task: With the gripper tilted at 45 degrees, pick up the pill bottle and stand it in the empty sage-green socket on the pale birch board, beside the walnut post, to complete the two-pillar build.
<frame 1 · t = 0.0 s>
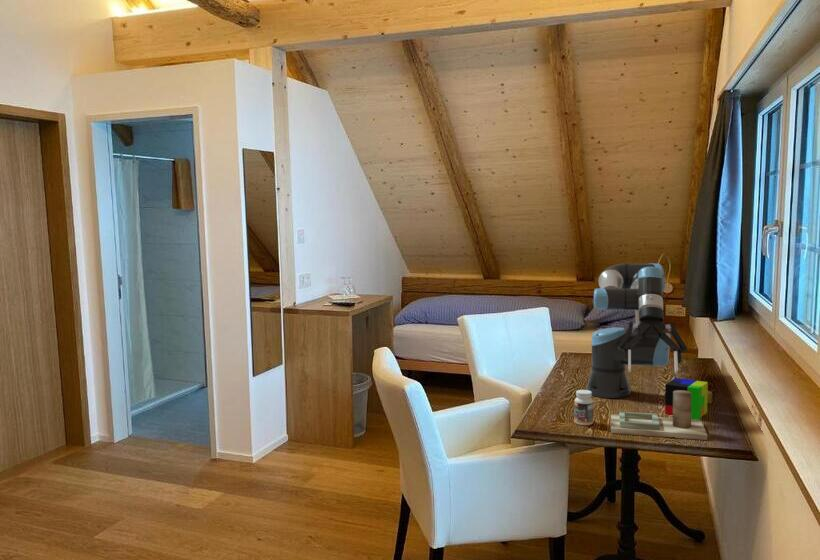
hand: (652, 371, 199), 15 cm above the table, tool tilted 35°, fingers open, 13 cm apart
puzzle toy: (686, 414, 206), on the table
medication box: (699, 399, 222), on the table
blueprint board: (656, 428, 191), on the table
pill bottle: (583, 423, 199), on the table
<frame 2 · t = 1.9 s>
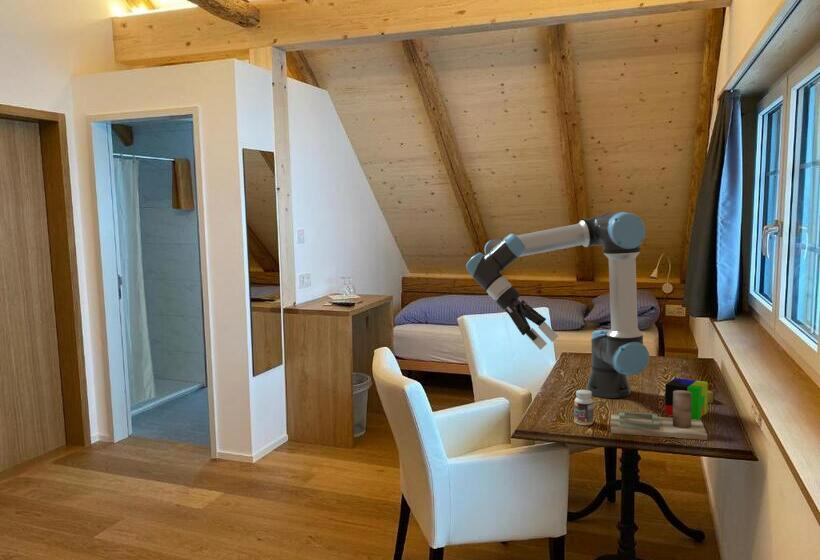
hand: (549, 343, 201), 24 cm above the table, tool tilted 45°, fingers open, 13 cm apart
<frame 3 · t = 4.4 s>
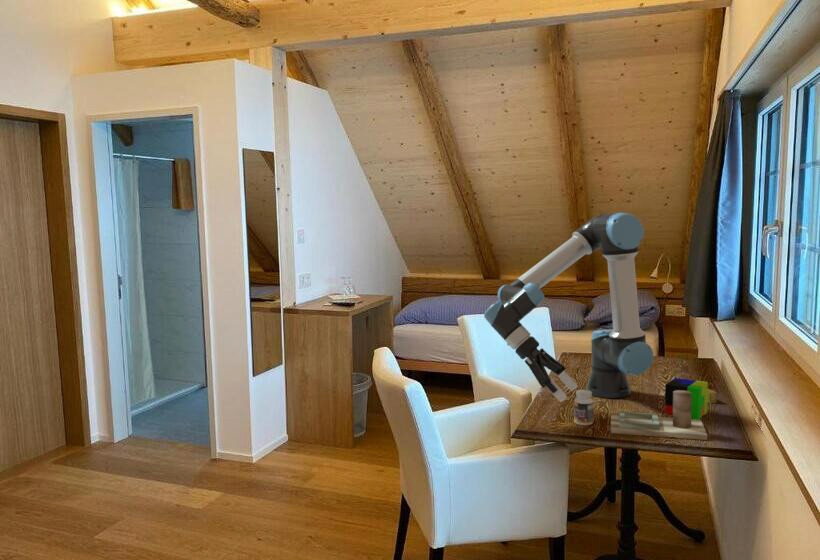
hand: (569, 394, 199), 9 cm above the table, tool tilted 45°, fingers open, 13 cm apart
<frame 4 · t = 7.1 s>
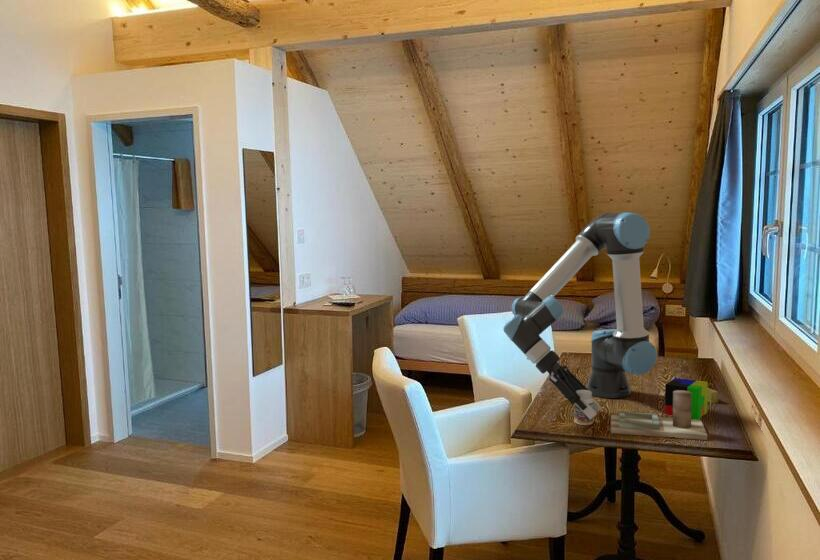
hand: (595, 413, 197), 3 cm above the table, tool tilted 45°, fingers closed on pill bottle, 6 cm apart
pill bottle: (583, 423, 199), on the table, touching gripper
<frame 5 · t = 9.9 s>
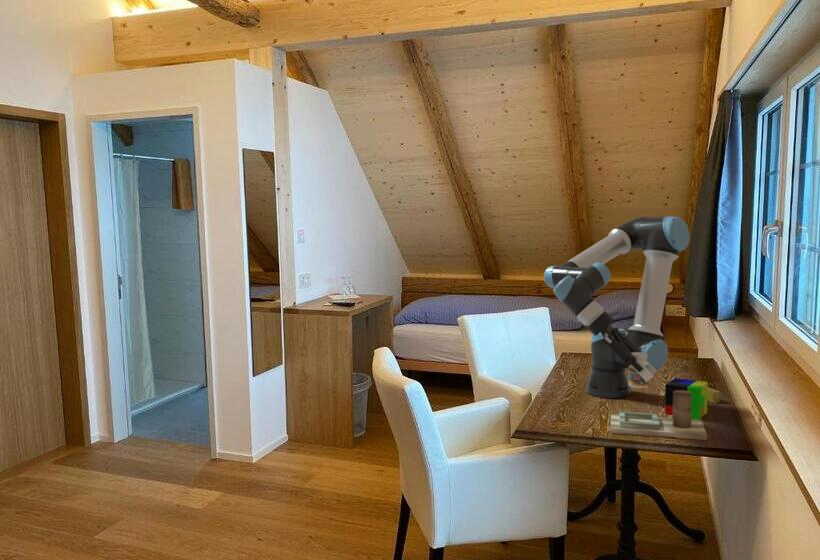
hand: (651, 376, 190), 16 cm above the table, tool tilted 45°, fingers closed on pill bottle, 6 cm apart
pill bottle: (638, 386, 192), point 13 cm above the table, touching gripper
when the fingers open (7 cm above the table, at t = 12.7 s): pill bottle drops 2 cm, resting on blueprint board.
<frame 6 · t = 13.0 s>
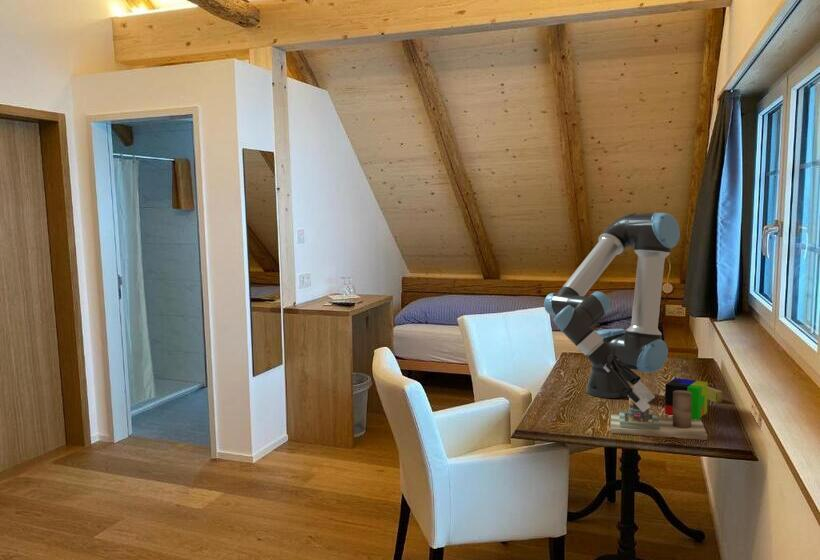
hand: (649, 404, 191), 8 cm above the table, tool tilted 45°, fingers open, 10 cm apart
pill bottle: (638, 423, 193), point 1 cm above the table, touching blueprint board
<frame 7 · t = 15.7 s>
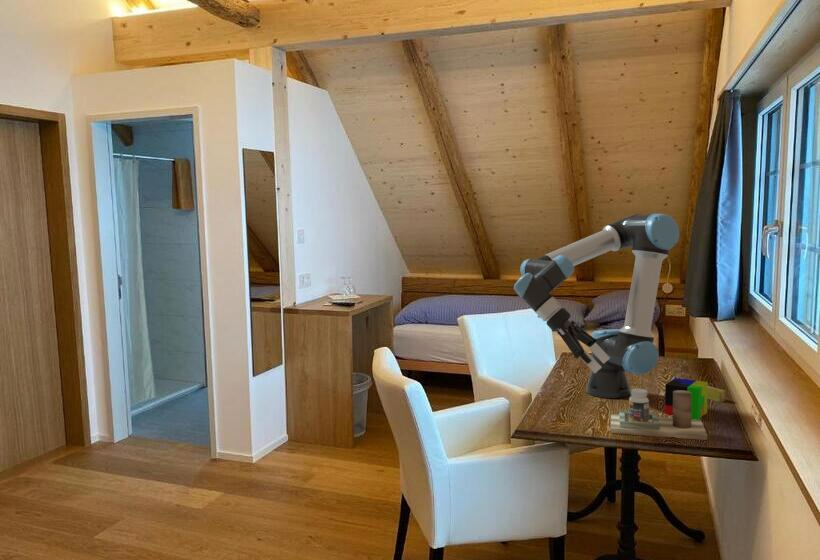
hand: (602, 365, 196), 18 cm above the table, tool tilted 45°, fingers open, 13 cm apart
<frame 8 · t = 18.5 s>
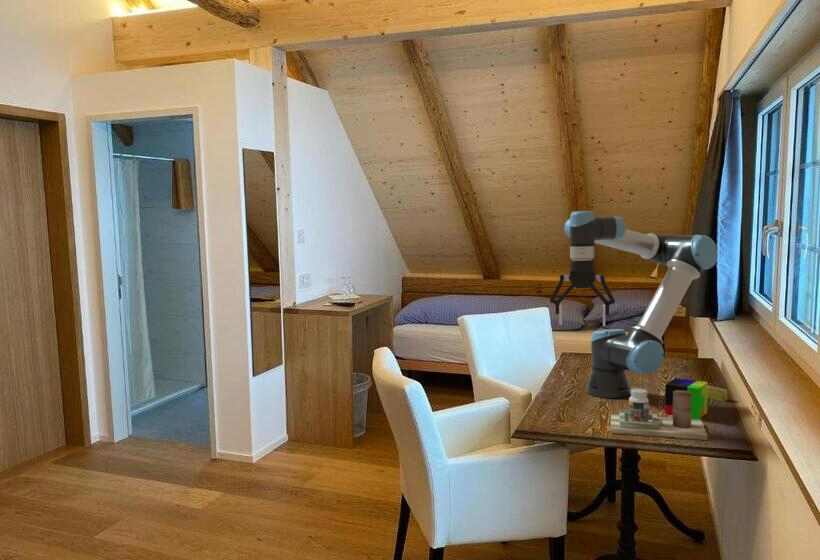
hand: (582, 324, 208), 29 cm above the table, tool pointing down, fingers open, 13 cm apart
at the end: pill bottle 0.2 cm from the target spot on the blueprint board, point 1.3 cm above the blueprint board's base; pill bottle tilted 0°; the gripper is holding nothing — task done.
